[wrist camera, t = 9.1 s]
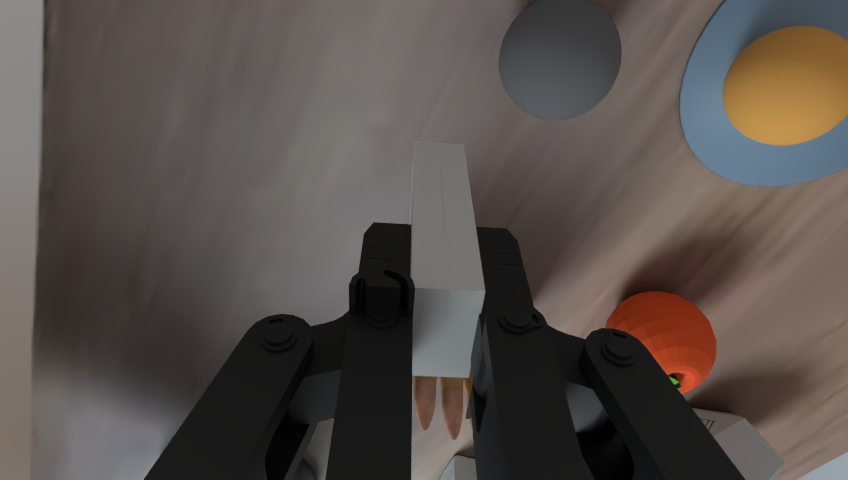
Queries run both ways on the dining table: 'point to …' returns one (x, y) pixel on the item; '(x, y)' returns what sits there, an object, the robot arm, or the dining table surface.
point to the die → (742, 445)
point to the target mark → (703, 106)
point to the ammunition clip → (450, 400)
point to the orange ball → (788, 86)
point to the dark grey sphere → (560, 58)
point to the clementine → (669, 334)
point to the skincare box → (460, 469)
